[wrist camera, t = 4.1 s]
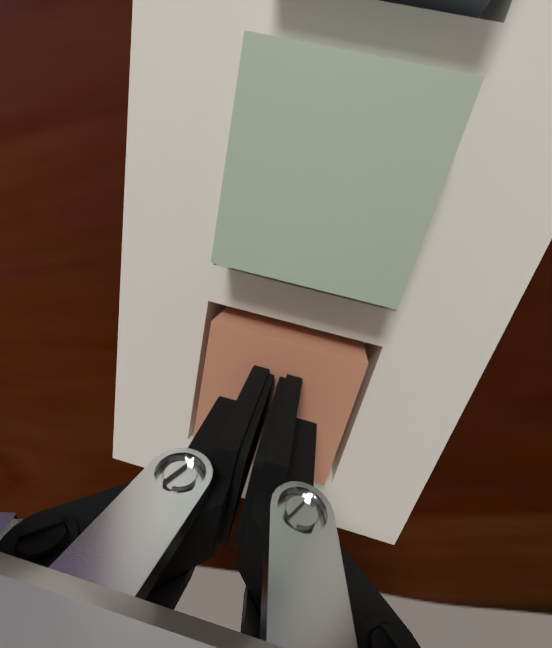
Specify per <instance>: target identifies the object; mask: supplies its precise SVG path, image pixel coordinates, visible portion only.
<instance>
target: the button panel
mask: <svg viewBox="0 0 552 648" xmlns="http://www.w3.org/2000/svg"><path fill="white" fill-rule="evenodd" d="M244 30H246V31H251V32H256V33H261V34H266V35H271V36H277V37H282V38H287V39H292V40H297V41H302V42H308V43H313V44H318V45H323V46H328V47H333V48H338V49H344V50H349V51H354V52H359V53H364V54H369V55H375V56H380V57H385V58H390V59H395V60H400V61H406V62H411V63H416V64H421V65H426V66H431V67H437V68H442V69H447V70H452V71H457V72H462V73H467V74H473V75H478V76H483V77H484V80H483V82H482V85H481V88H480V90H479V93H478V96H477V98H476V101H475V104H474V106H473V109H472V112H471V114H470V117H469V120H468V122H467V125H466V128H465V130H464V133H463V136H462V139H461V141H460V144H459V147H458V149H457V152H456V155H455V157H454V160H453V163H452V165H451V168H450V171H449V173H448V176H447V179H446V181H445V184H444V187H443V189H442V192H441V195H440V197H439V200H438V203H437V205H436V208H435V211H434V213H433V216H432V219H431V221H430V224H429V227H428V229H427V232H426V235H425V237H424V240H423V243H422V245H421V248H420V251H419V253H418V256H417V259H416V261H415V264H414V267H413V269H412V272H411V275H410V277H409V280H408V283H407V285H406V288H405V291H404V293H403V296H402V299H401V301H400V304H399V307H398V309H397V310H396V309H392V308H388V307H384V306H380V305H376V304H372V303H368V302H365V301H361V300H357V299H353V298H349V297H345V296H341V295H337V294H333V293H329V292H325V291H321V290H317V289H313V288H309V287H305V286H301V285H297V284H293V283H289V282H286V281H282V280H278V279H274V278H270V277H266V276H262V275H258V274H254V273H250V272H246V271H242V270H238V269H234V268H230V267H226V266H222V265H218V264H214V263H211V257H212V250H213V243H214V236H215V229H216V222H217V216H218V209H219V202H220V195H221V188H222V181H223V174H224V167H225V160H226V153H227V146H228V140H229V133H230V126H231V119H232V112H233V105H234V98H235V91H236V84H237V77H238V70H239V64H240V57H241V50H242V43H243V36H244ZM551 239H552V0H491V2H490V3H489V4H488V6H487V7H486V8H485V9H484V11H483V12H482V13H481V15H480V16H479V17H478V18H474V17H468V16H462V15H457V14H451V13H446V12H440V11H435V10H429V9H424V8H418V7H413V6H407V5H401V4H396V3H390V2H385V1H379V0H133V11H132V34H131V56H130V79H129V101H128V124H127V146H126V169H125V191H124V214H123V237H122V259H121V282H120V304H119V327H118V349H117V372H116V394H115V417H114V440H113V458H115V459H118V460H121V461H125V462H128V463H131V464H134V465H138V466H141V467H144V468H145V467H146V466H147V465H148V464H149V463H150V462H151V461H152V460H153V459H154V458H156V457H157V456H158V455H160V454H161V453H163V452H165V451H168V450H170V449H175V448H188V446H189V445H190V443H191V441H192V440H193V435H194V428H195V422H196V416H197V409H198V403H199V396H200V390H201V383H202V377H203V370H204V364H205V358H206V351H207V345H208V338H209V332H210V325H211V321H212V320H213V319H214V318H215V317H216V316H218V315H219V314H220V313H221V312H222V311H223V310H224V309H225V308H226V307H228V306H229V307H233V308H237V309H241V310H245V311H248V312H252V313H256V314H260V315H264V316H267V317H271V318H275V319H279V320H283V321H287V322H290V323H294V324H298V325H302V326H306V327H309V328H313V329H317V330H321V331H325V332H328V333H332V334H336V335H340V336H344V337H347V338H351V339H355V340H359V341H363V344H364V348H365V351H366V355H367V359H368V363H369V364H368V367H367V369H366V372H365V375H364V378H363V380H362V383H361V386H360V389H359V391H358V394H357V397H356V400H355V402H354V405H353V408H352V411H351V413H350V416H349V419H348V422H347V424H346V427H345V430H344V433H343V435H342V438H341V441H340V444H339V446H338V449H337V452H336V455H335V457H334V460H333V463H332V466H331V468H330V471H329V474H328V477H327V479H326V482H325V485H321V484H318V483H315V482H314V487H315V488H317V489H318V490H319V491H321V492H322V493H323V494H324V495H325V496H326V498H327V499H328V501H329V502H330V504H331V506H332V509H333V512H334V515H335V521H336V527H338V528H341V529H345V530H348V531H351V532H354V533H357V534H361V535H364V536H367V537H370V538H374V539H377V540H380V541H383V542H387V543H390V544H393V545H394V544H395V542H396V540H397V539H398V537H399V535H400V533H401V531H402V529H403V527H404V525H405V523H406V521H407V519H408V517H409V515H410V513H411V511H412V509H413V507H414V505H415V503H416V502H417V500H418V498H419V496H420V494H421V492H422V490H423V488H424V486H425V484H426V482H427V480H428V478H429V476H430V474H431V472H432V470H433V468H434V467H435V465H436V463H437V461H438V459H439V457H440V455H441V453H442V451H443V449H444V447H445V445H446V443H447V441H448V439H449V437H450V435H451V433H452V432H453V430H454V428H455V426H456V424H457V422H458V420H459V418H460V416H461V414H462V412H463V410H464V408H465V406H466V404H467V402H468V400H469V398H470V397H471V395H472V393H473V391H474V389H475V387H476V385H477V383H478V381H479V379H480V377H481V375H482V373H483V371H484V369H485V367H486V365H487V363H488V362H489V360H490V358H491V356H492V354H493V352H494V350H495V348H496V346H497V344H498V342H499V340H500V338H501V336H502V334H503V332H504V330H505V328H506V326H507V325H508V323H509V321H510V319H511V317H512V315H513V313H514V311H515V309H516V307H517V305H518V303H519V301H520V299H521V297H522V295H523V293H524V291H525V290H526V288H527V286H528V284H529V282H530V280H531V278H532V276H533V274H534V272H535V270H536V268H537V266H538V264H539V262H540V260H541V258H542V256H543V255H544V253H545V251H546V249H547V247H548V245H549V243H550V241H551ZM252 467H253V464H251V467H250V471H249V474H248V477H247V480H246V483H245V487H244V490H243V493H242V496H241V498H244V499H245V495H246V491H247V487H248V483H249V479H250V475H251V471H252Z"/></svg>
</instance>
